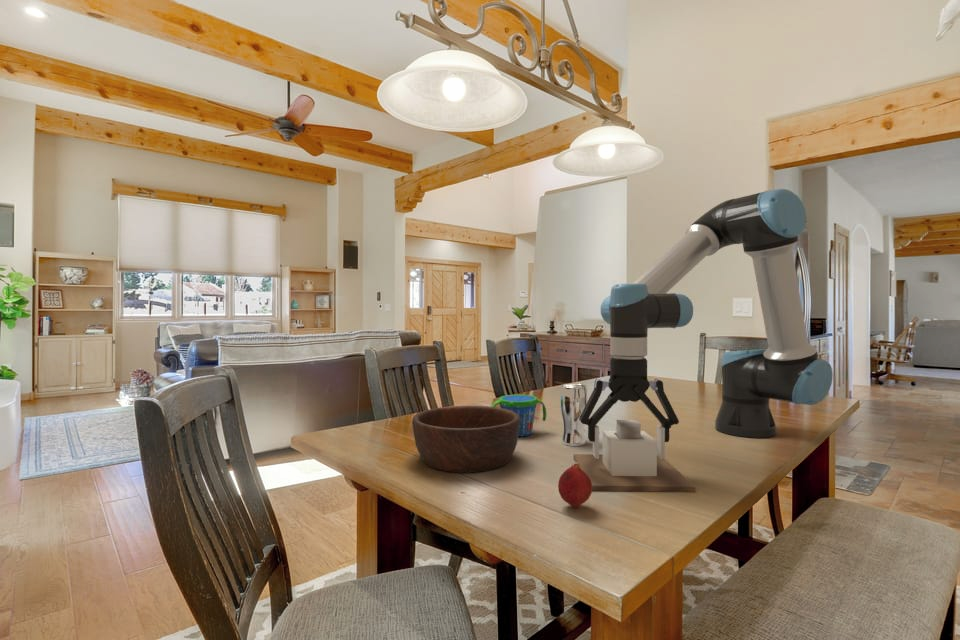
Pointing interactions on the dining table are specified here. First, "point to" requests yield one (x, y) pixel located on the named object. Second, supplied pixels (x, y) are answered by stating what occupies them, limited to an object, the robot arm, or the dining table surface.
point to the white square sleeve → (629, 455)
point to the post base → (605, 481)
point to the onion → (575, 486)
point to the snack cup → (522, 410)
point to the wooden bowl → (466, 437)
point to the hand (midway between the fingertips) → (628, 457)
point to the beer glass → (573, 413)
